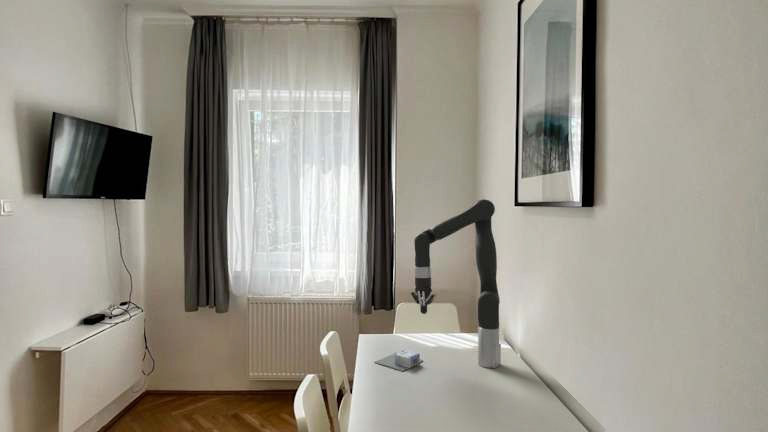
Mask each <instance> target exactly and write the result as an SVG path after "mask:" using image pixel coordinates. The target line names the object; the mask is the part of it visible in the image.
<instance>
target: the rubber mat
mask: <svg viewBox="0 0 768 432" xmlns="http://www.w3.org/2000/svg"><path fill="white" fill-rule="evenodd" d="M397 353H398V352H395V353H392V354H390V355H387V356H386V357H383V358H381V359H378V360H376V361H374V363H375V364H376V365H380V366H383V367H386V368H389V369H393V370H396V371H398V372H402V373H403V372H405V371H408V370H409V369H410V368H407V367H404V366H400V365H397V364H395V354H397ZM423 362H424V360H423V359H420V363H419V364H421V363H423Z"/></svg>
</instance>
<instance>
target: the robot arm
mask: <svg viewBox="0 0 768 432" xmlns="http://www.w3.org/2000/svg"><path fill="white" fill-rule="evenodd" d="M495 212H496V207H495V204H494V203H493V202H492V201H491V200H489V199H480V200H477V201H475V203H474V204H473V206H471V207H470V208H468V209H467V210H465V211H463V212H461V213H460V214H457V215H456V216H452V217H450V218H447V219H445V220H443V221H441V222H440V223H438V224H435V225H433V226H432V227H429V228H427V229H426V230H423V231H421V232H419V233H417V234H416V235H415V237H414V240H413V241H414V242H413V243H414V252H415V253H414V254H415V255H414V256H415V257H414V286H415V288H414V290H413V291H412V292H411V293H410V294H411V296H412V298H413V300H414V301H415V303H416V304H418V305H419V306H420V313H421V315H422V314H423V315H426V314H427V312H428V305H431V304H432V302H434V300H435V298H436V297H437V294H436V293H434V292H433V290H432V269H431V255H430V248H431V247H430V245H432V244H433V243H435V242H437V241H440V240H443V239H445V238H447V237H449V236H451V235H453V234H455V233H456V232H458V231H460V230H463V228H466V227H468V226H470V225H472V224H474V228H475V259H476V260H475V262H476V267H477V271H478V276H479V283H480V285H479V286H480V290H479V294H480V295H479V297H478V300H477V322H478V323H477V324H478V327H477V328H478V329H477V330H478V331H477V333H478V335H477V336H478V337H477V341H478V343H477V346H478V348H477V350H478V351H477V352H478V355H477V361H478V362H477V364H478V366H480V367H484V368H488V369H491V368H492V369H496V368H498V367H499V366H501V363H502V361H501V360H502V359H501V358H502V357H501V356H502V351H501V350H502V348H501V347H502V344H501V343H500V304H501V303H500V302H501V301H500V295H499V291H498V285H497V284H498V283H497V274H498V273H497V269H498V262H497V261H498V259H497V246H496V243H495V238H494V234H493V229H492V218H493V216H494V214H495Z"/></svg>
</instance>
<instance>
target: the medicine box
mask: <svg viewBox="0 0 768 432" xmlns="http://www.w3.org/2000/svg"><path fill="white" fill-rule="evenodd" d="M396 353H397V354H395V364H397V365H400V366H404V367H407V368H409V369H411V368H413V367H415V366H417V365H419V364H421V363H420V360H421V358H420V356H421V355H420V354H421V353H417V352H413V351H410V350H406V349H404V350H401V351H400V352H396Z"/></svg>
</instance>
